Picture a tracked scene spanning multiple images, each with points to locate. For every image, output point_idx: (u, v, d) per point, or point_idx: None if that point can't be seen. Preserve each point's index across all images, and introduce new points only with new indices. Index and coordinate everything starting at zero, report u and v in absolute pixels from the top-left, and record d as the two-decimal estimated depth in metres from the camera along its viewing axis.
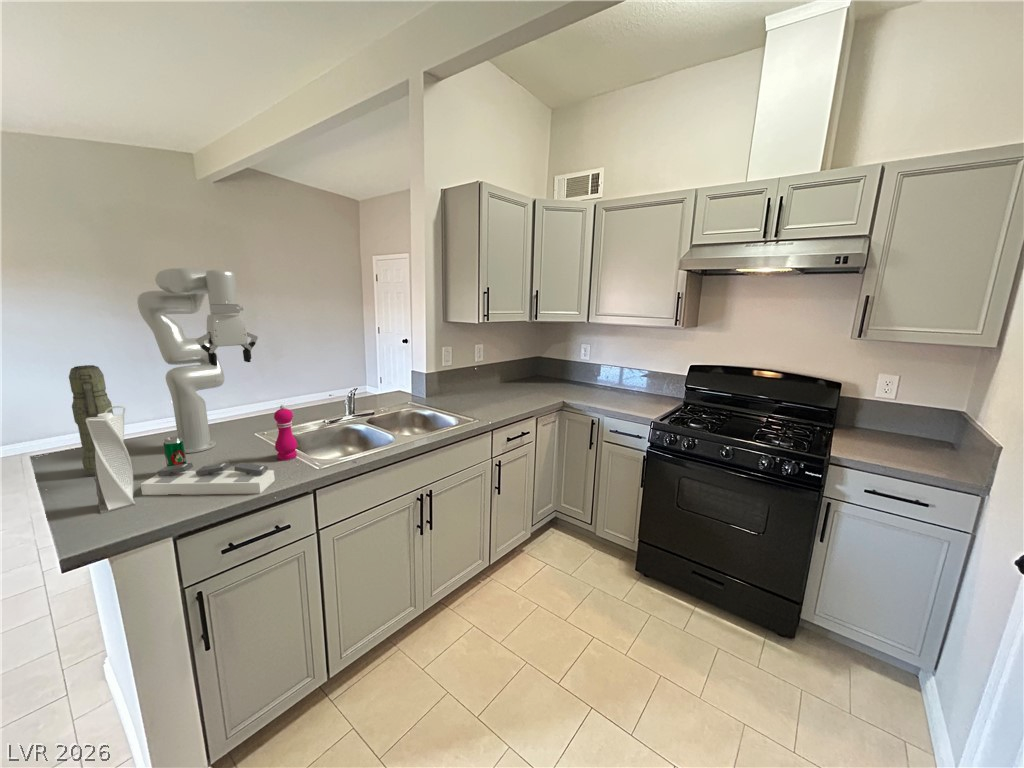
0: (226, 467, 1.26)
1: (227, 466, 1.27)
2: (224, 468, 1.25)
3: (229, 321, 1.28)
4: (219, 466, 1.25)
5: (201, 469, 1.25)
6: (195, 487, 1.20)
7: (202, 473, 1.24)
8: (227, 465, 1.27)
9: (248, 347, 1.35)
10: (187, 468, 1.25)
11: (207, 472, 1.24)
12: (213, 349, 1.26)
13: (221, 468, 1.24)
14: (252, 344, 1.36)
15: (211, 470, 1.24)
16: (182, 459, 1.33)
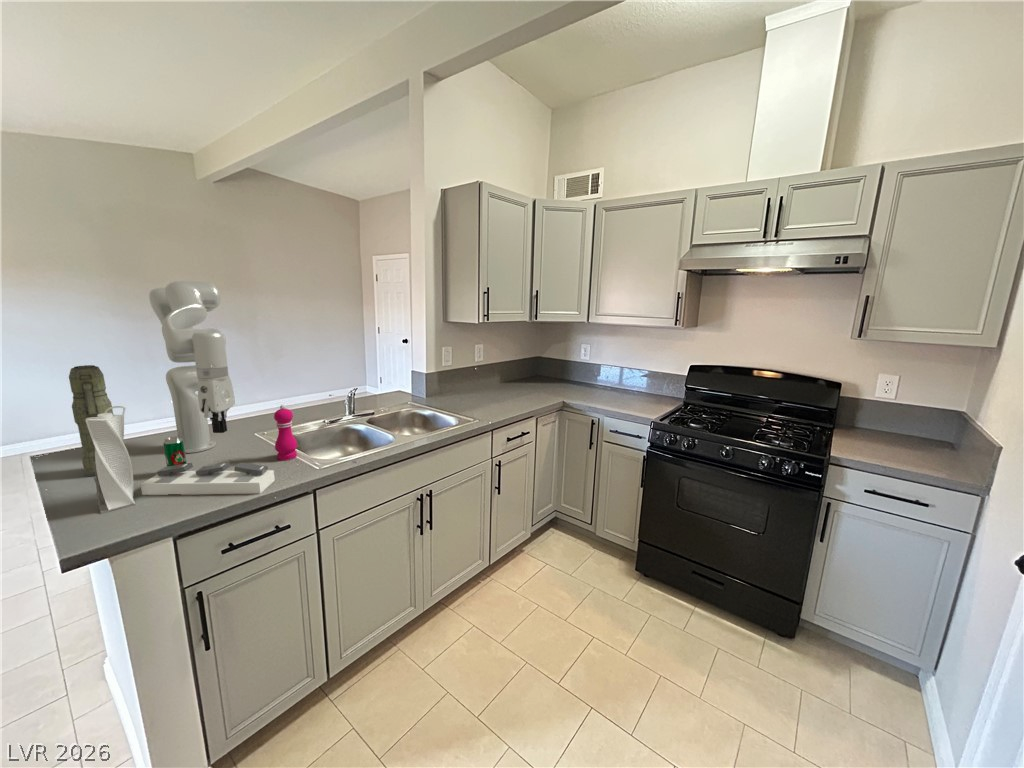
0: (226, 467, 1.26)
1: (227, 466, 1.27)
2: (224, 468, 1.25)
3: None
4: (219, 466, 1.25)
5: (201, 469, 1.25)
6: (195, 487, 1.20)
7: (202, 473, 1.24)
8: (227, 465, 1.27)
9: None
10: (187, 468, 1.25)
11: (207, 472, 1.24)
12: None
13: (221, 468, 1.24)
14: None
15: (211, 470, 1.24)
16: (182, 459, 1.33)
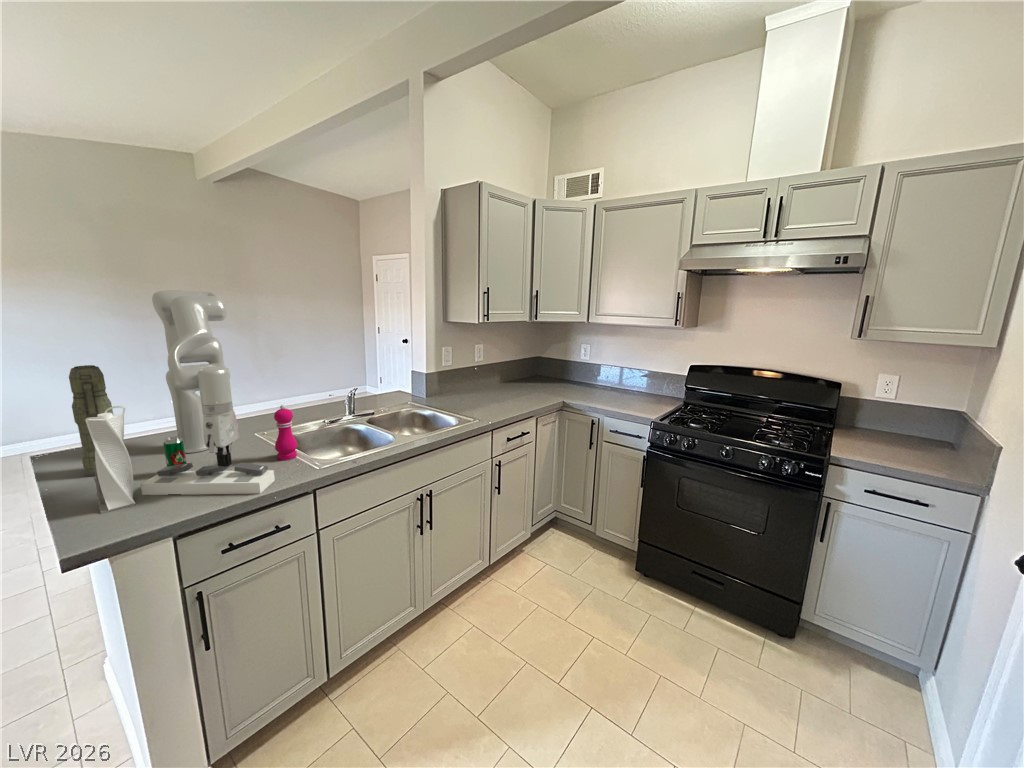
0: (226, 467, 1.26)
1: (227, 466, 1.27)
2: (224, 469, 1.25)
3: None
4: (219, 466, 1.25)
5: (201, 469, 1.25)
6: (195, 487, 1.20)
7: (202, 473, 1.24)
8: None
9: None
10: (187, 468, 1.25)
11: (207, 472, 1.24)
12: None
13: (221, 468, 1.24)
14: None
15: (211, 470, 1.24)
16: (182, 459, 1.33)
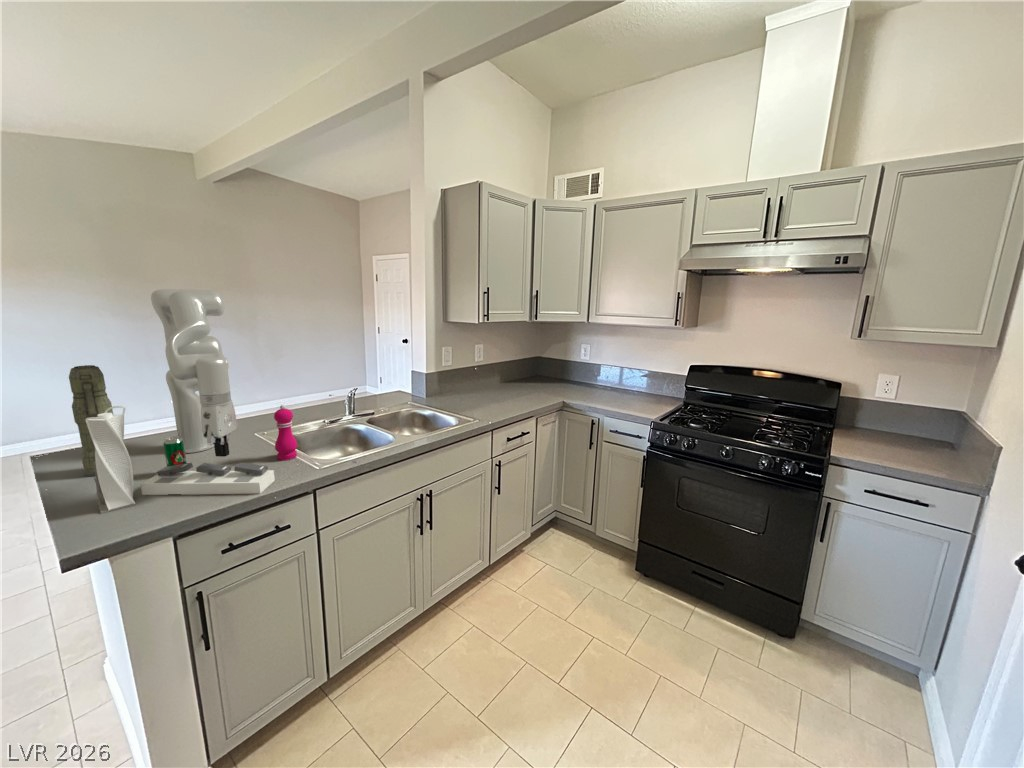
0: (227, 471, 1.26)
1: (228, 470, 1.27)
2: (225, 472, 1.25)
3: None
4: (221, 468, 1.25)
5: (202, 466, 1.25)
6: (195, 487, 1.20)
7: (202, 471, 1.24)
8: (228, 469, 1.27)
9: None
10: (187, 468, 1.25)
11: (207, 471, 1.24)
12: None
13: (223, 472, 1.25)
14: None
15: (212, 471, 1.24)
16: (182, 459, 1.33)
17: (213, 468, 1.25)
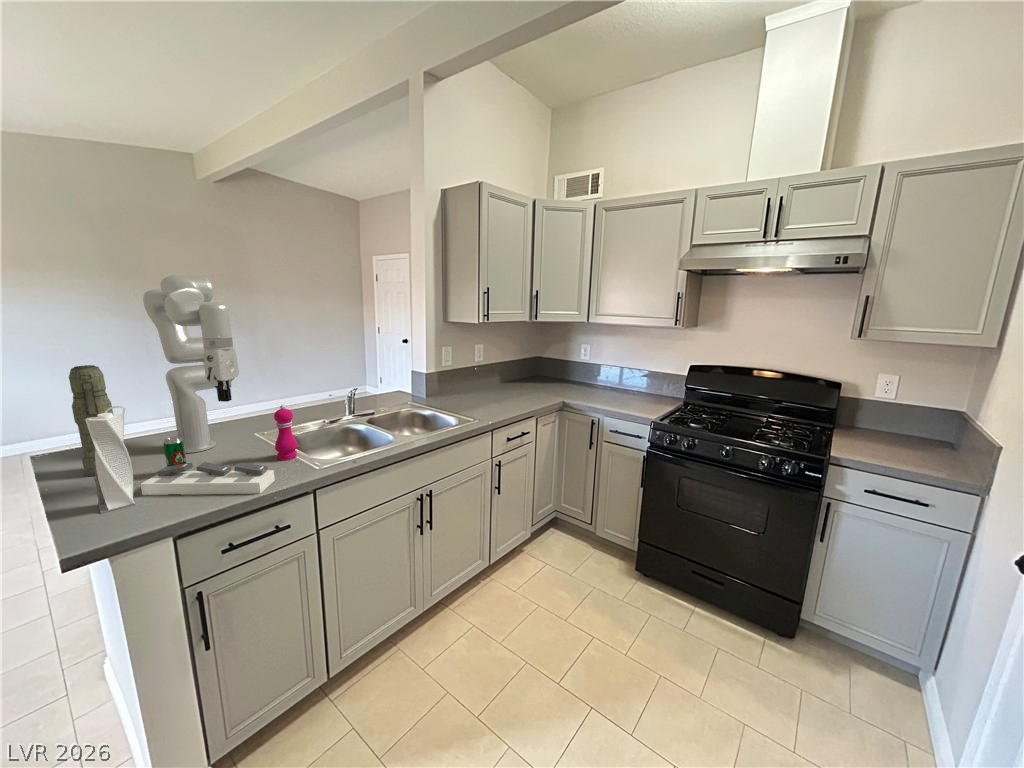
0: (227, 472, 1.27)
1: (228, 471, 1.27)
2: (225, 473, 1.25)
3: None
4: (221, 469, 1.25)
5: (203, 466, 1.25)
6: (195, 487, 1.20)
7: (202, 470, 1.24)
8: (229, 470, 1.27)
9: None
10: (187, 468, 1.25)
11: (208, 471, 1.24)
12: None
13: (223, 472, 1.25)
14: None
15: (212, 471, 1.24)
16: (182, 459, 1.33)
17: (213, 468, 1.25)
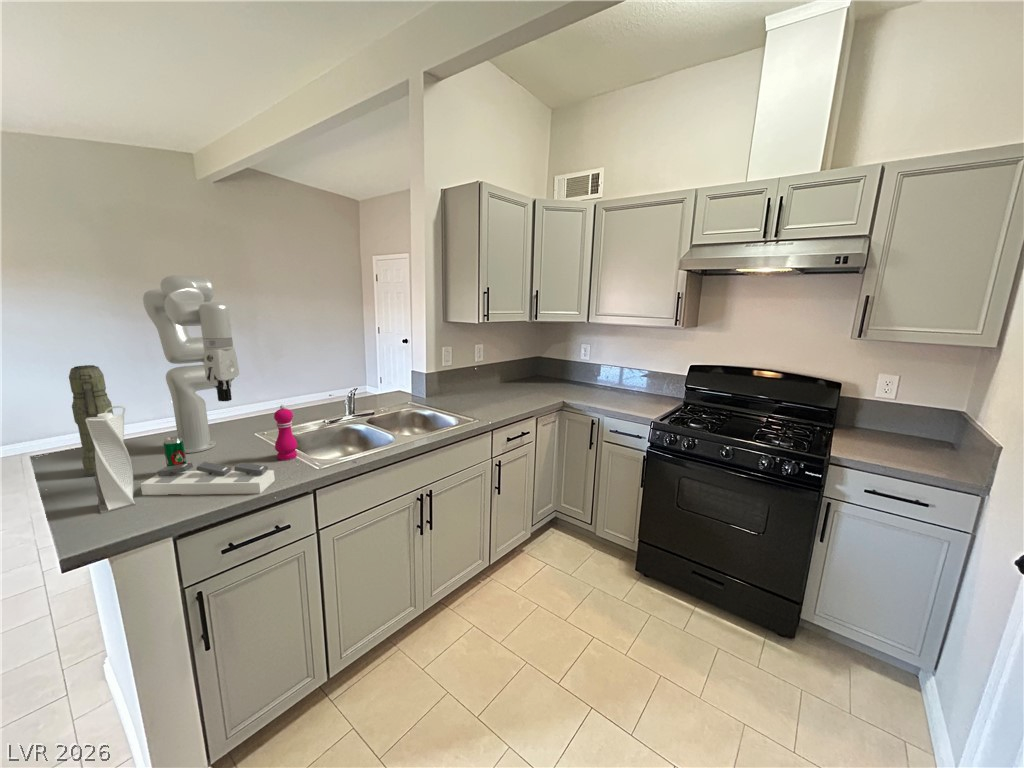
0: (227, 472, 1.27)
1: (228, 471, 1.27)
2: (225, 474, 1.25)
3: None
4: (221, 469, 1.26)
5: (203, 465, 1.25)
6: (195, 487, 1.20)
7: (202, 470, 1.24)
8: (229, 470, 1.27)
9: None
10: (187, 468, 1.25)
11: (208, 471, 1.24)
12: None
13: (223, 473, 1.25)
14: None
15: (212, 471, 1.24)
16: (182, 459, 1.33)
17: (213, 468, 1.25)
